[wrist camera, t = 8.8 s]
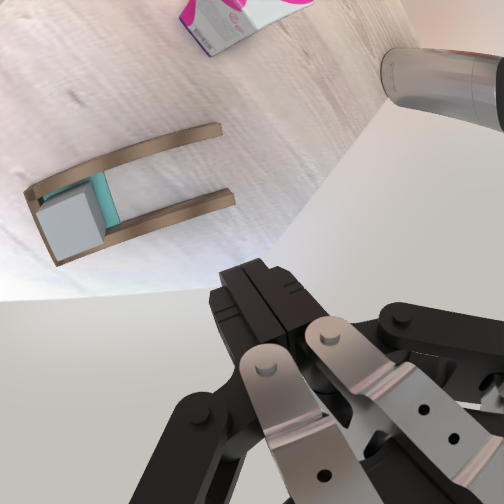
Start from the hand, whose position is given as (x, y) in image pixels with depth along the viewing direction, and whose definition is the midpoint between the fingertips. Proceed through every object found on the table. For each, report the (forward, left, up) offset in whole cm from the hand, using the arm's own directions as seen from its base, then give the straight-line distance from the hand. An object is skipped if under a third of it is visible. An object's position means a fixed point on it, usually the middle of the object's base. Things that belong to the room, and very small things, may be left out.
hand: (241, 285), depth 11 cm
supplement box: (-8, -14, -21) cm, 27 cm away
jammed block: (+10, +1, -21) cm, 23 cm away
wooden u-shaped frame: (+4, +1, -21) cm, 22 cm away
